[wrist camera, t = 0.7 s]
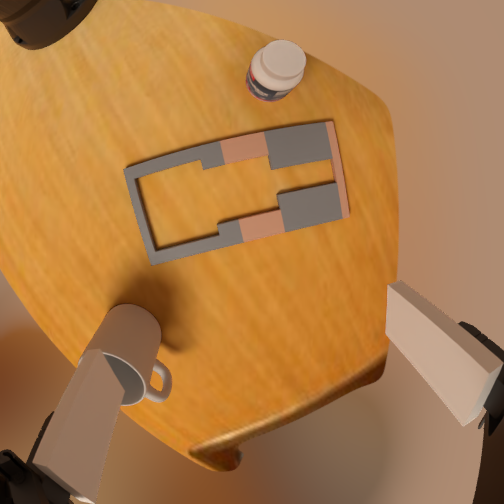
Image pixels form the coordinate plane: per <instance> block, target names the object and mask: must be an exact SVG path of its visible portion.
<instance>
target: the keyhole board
mask: <svg viewBox="0 0 504 504" xmlns="http://www.w3.org/2000/svg"><path fill="white" fill-rule="evenodd" d="M266 155H268V158H269V163H270V167H271V170H273V169H278V168H283V167H288V166H293V165H299V164H304V163H309V162H315V161H321V160H327V159H331V164H332V170H333V175H334V181H335V182H334V183H329V184H324V185H319V186H314V187H309V188H304V189H299V190H295V191H290V192H285V193H281V194H276V195H277V200H278V205H279V209H276V210H272V211H268V212H264V213H259V214H255V215H251V216H247V217H243V218H239V219H234V220H230V221H226V222H222V223H218V224H217V227H218V231H219V234H217V235H213V236H209V237H205V238H201V239H198V240H194V241H190V242H186V243H182V244H178V245H174V246H171V247H167V248H163V249H159V250H156V247H155V244H154V241H153V238H152V234H151V231H150V228H149V224H148V221H147V218H146V214H145V211H144V207H143V203H142V200H141V196H140V192H139V189H138V185H137V181H136V178H139V177H142V176H145V175H149V174H152V173H155V172H158V171H162V170H165V169H168V168H172V167H175V166H179V165H182V164H186V163H189V162H193V161H197V160H201V163H202V167H203V170H205V169H209V168H213V167H217V166H221V165H225V164H229V163H234V162H238V161H242V160H247V159H251V158H256V157H261V156H266ZM123 170H124V174H125V178H126V182H127V186H128V190H129V194H130V198H131V201H132V205H133V208H134V212H135V215H136V219H137V222H138V225H139V229H140V232H141V235H142V238H143V242H144V245H145V248H146V251H147V254H148V257H149V260H150V263H151V266H152V265H156V264H160V263H164V262H168V261H172V260H176V259H180V258H184V257H188V256H192V255H196V254H200V253H203V252H207V251H211V250H215V249H219V248H223V247H228V246H232V245H236V244H240V243H244V242H248V241H252V240H256V239H260V238H264V237H268V236H272V235H276V234H280V233H285V232H289V231H293V230H297V229H301V228H305V227H310V226H314V225H318V224H322V223H326V222H331V221H335V220H339V219H343V218H348V217H350V215H349V207H348V200H347V194H346V187H345V181H344V175H343V169H342V164H341V158H340V153H339V148H338V143H337V138H336V133H335V129H334V124H333V121H330V122H321V123H314V124H307V125H300V126H293V127H287V128H281V129H275V130H270V131H264V132H259V133H254V134H249V135H244V136H239V137H235V138H230V139H226V140H222V141H217V142H213V143H209V144H205V145H201V146H198V147H194V148H190V149H186V150H183V151H179V152H176V153H172V154H169V155H165V156H162V157H159V158H156V159H152V160H149V161H146V162H143V163H140V164H137V165H134V166H131V167H128V168H125V169H123Z"/></svg>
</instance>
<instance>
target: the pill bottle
mask: <svg viewBox="0 0 504 504" xmlns="http://www.w3.org/2000/svg"><path fill="white" fill-rule="evenodd" d="M305 65H306V56H305V53H304V52H303V50H302V49H301V48H300V47H299V46H298V45H297V44H295V43H293V42H291V41H288V40H275V41H273V42H271V43H269V44H268V45H267V46H265V47H263V48H261V49H260V50H258V51H257V52H256V53H255V55H254V57H253V58H252V61H251V64H250V67H249V70H248V73H247V76H246V86H247V88H248V90H249V92H250V93H251V94H252V95H253V96H254V97H255V98H257V99H259V100H261V101H265V102H274V101H278V100H280V99H282V98H283V97H285V96H286V95H287V94H288V93H289V92H290V91H291V90H292V89H293V88H294V87H295V86H297V85H298V83H299V82H300V81H301V79H302V77H303V74H304V68H305Z"/></svg>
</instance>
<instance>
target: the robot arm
mask: <svg viewBox="0 0 504 504" xmlns="http://www.w3.org/2000/svg"><path fill="white" fill-rule="evenodd" d="M95 2H96V0H0V21H1V22H2V23H3V24H4V25H5V27H6V29H7V31H8V32H9V34H10V36H11V37H12V39H13V40H14V42H15V43H16V44H18V45H19V46H21V47H23V48H25V49H28V50H37V49H41V48H44V47H47V46H49V45H51V44H53V43H55V42H56V41H58V40H59V39H61V38H62V37H64V36H65V35H66V34H68V33H69V32H70V31H71V30H73V29H74V28H75V27H76V26H77V25H78V24H79V23H80V22H81V21H82V20H83V19H84V17H85V16H86V15H87V14H88V13H89V11H90V10H91V8H92V7H93V5H94V4H95ZM385 334H386V335H387V336H388V337H389V338H390V340H391V341H392V342H393V343H394V344H395V345H396V346H397V347H398V349H399V350H400V351H401V352H402V353H403V354H404V356H405V357H406V358H407V359H408V360H409V361H410V363H411V364H412V365H413V366H414V367H415V368H416V370H417V371H418V372H419V373H420V374H421V376H422V377H423V378H424V379H425V380H426V381H427V383H428V384H429V385H430V386H431V387H432V389H433V390H434V391H435V392H436V394H437V395H438V396H439V397H440V398H441V400H442V401H443V402H444V403H445V405H446V406H447V407H448V408H449V409H450V411H451V412H452V413H453V415H454V416H455V417H456V418H457V420H458V421H459V422H460V423H461V425H462V426H465V425H466V424H468V423H469V422H471V421H472V420H473V419H475V418H476V417H477V416H478V415H479V413H480V411H481V409H482V408H483V407H484V408H485V409H486V410H487V411H486V413H485V415H484V417H483V418H482V420H481V422H480V423H479V426H478V429H480V428H481V427H482V425H483V423H485V424H484V437H483V448H482V456H481V463H480V470H479V476H478V481H477V486H476V491H475V495H474V499H473V504H504V351H503V350H502V349H501V348H500V347H499V346H498V345H496V344H495V343H494V342H493V341H491V340H490V339H488V337H487V336H485V335H484V334H481V332H480V331H479V330H478V329H477V328H475V327H474V326H473V325H470V324H468V323H465V322H460V323H456V322H455V321H454V320H453V319H451V318H450V317H449V316H448V315H446V314H445V313H444V312H442V311H441V310H440V309H439V308H437V307H436V306H435V305H433V304H432V303H431V302H429V301H428V300H427V299H426V298H424V297H423V296H422V295H420V294H419V293H418V292H416V291H415V290H414V289H412V288H411V287H410V286H408V285H407V284H406V283H404V282H403V281H401V280H400V281H397V282H394V283H391V284H388V288H387V317H386V333H385ZM124 393H125V390H124V389H123V387H122V386H121V384H120V382H119V381H118V379H117V377H116V376H115V374H114V372H113V371H112V369H111V367H110V365H109V364H108V362H107V360H106V358H105V356H104V355H103V353H102V351H101V349H92V350H87V351H86V353H85V355H84V357H83V358H82V360H81V362H80V364H79V366H78V367H77V369H76V371H75V373H74V375H73V377H72V379H71V380H70V382H69V384H68V386H67V388H66V390H65V392H64V394H63V396H62V398H61V400H60V402H59V404H58V406H57V408H56V410H55V411H53V412H52V413H51V414H50V415H49V416H48V417H47V418H46V420H45V422H44V424H43V426H42V428H41V429H42V430H41V431H40V432H39V435H38V438H37V439H36V441H35V444H34V446H33V448H32V450H31V453H30V455H29V458H28V460H27V462H26V464H25V463H24V462H23V461H22V460H21V459H20V458H19V457H18V456H16V454H15V453H14V452H12V451H11V450H3V451H1V452H0V504H74V503H73V502H72V501H71V500H70V499H69V498H70V494H71V495H73V496H74V497H75V498H77V499H78V500H80V501H83V502H88V503H92V504H96V499H97V494H98V489H99V485H100V481H101V476H102V472H103V467H104V464H105V460H106V456H107V452H108V448H109V444H110V440H111V437H112V433H113V429H114V426H115V422H116V419H117V416H118V412H119V409H120V406H121V403H122V399H123V396H124Z"/></svg>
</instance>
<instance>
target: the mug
mask: <svg viewBox="0 0 504 504" xmlns="http://www.w3.org/2000/svg"><path fill="white" fill-rule="evenodd" d="M161 336H162V335H161V328H160V326H159V323H158V321H157V320H156V319H155V317H154V316H153V315H152V314H151V313H150V312H148V311H147V310H146V309H144V308H142V307H140V306H137V305H133V304H121V305H117V306H115V307H114V308H112V309H111V310H110V311H109V312H108V313H107V315H106V316H105V318H104V320H103V321H102V323H101V325H100V326H99V328H98V330H97V331H96V333H95V334H94V336H93V338H92V339H91V341H90V342H89V344H88V346H87V347H86V349H85V351H84V352H83V354H82V356H81V357H80V360H79V362H78V366H79V364H80V362H81V360H82V358H83V357H84V355H85V353H86V351H87V350H92V349H101V351H102V353H103V355H104V356H105V358H106V360H107V362H108V364H109V365H110V367H111V369H112V371H113V372H114V374H115V376H116V377H117V379H118V381H119V382H120V384H121V386H122V387H123V389H124V390H125V393H124V396H123V399H122V403H121V406H129V405H134V404H137V403H139V402H140V401H141V400H142V399H143V398H144V397H146V398H148V399H150V400H152V401H154V402H163V401H165V400H166V399H167V398H168V396H169V394H170V392H171V388H172V376H171V373H170V371H169V369H168V368H167V367H166V366H165V365H164V364H163V363H161V362H160V361H159V360H158V359H156V357H157V353H158V349H159V346H160V342H161ZM153 370H154V371H156V372H157V373H158V374H159V375H160V376H161V377H162V380H163V389H162V391H161V392H160V391H157V390H156V389H154V388H153V387H152V386H151V385H150V379H151V375H152V371H153Z"/></svg>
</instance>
